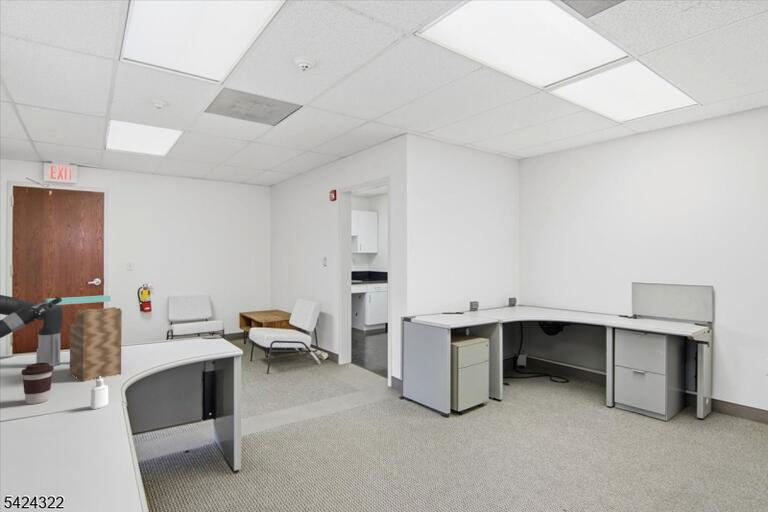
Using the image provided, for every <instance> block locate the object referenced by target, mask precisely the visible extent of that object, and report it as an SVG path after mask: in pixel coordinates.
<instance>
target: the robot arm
mask: <svg viewBox="0 0 768 512" xmlns="http://www.w3.org/2000/svg"><path fill="white" fill-rule="evenodd" d="M53 298H56V299H54V300H52V301H49V302H48V303H45V300H44V301H42V302H40V303H35V302H28V301H26V300H23V299H20V298H17V297H13V296H8V295H4V294H2V295H1V294H0V315H2V316H3V315H4V317H3V318H2V319H0V339H2V338H4V337H5V336H7V335H10V334H11V333H13V332H15V331H18V330H20V329H21V328H25V327H26V326H27V325H30V324H31V323H33V322H35V321H36V320H39V321H43V324H42V327H41V328H39V330H38V348H36V357H35V359H36V363H49V365H50V366H53V367H55V366H54V365H56V366H59V365H60V364H61V330H62V328H63V321H64V320H63V318H64V311H63V308H62V307H61V305H55V304H57V303H59V302H61V301H62V299H61V298H62V297H59V296H54V297H53ZM47 305H49V306H47ZM58 364H59V365H58Z"/></svg>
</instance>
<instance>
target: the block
mask: <svg viewBox="0 0 768 512" xmlns="http://www.w3.org/2000/svg"><path fill="white" fill-rule="evenodd" d="M60 298H61V299H62V301H61V302H59V303H57V304H55V305H58V306H63V305H76V304H77V305H78V304H91V303H92V304H93V303H103V302H105V303H107V302H111V295H109V294H108V295H107V294H105V295H91V296H90V295H88V296H71V297H69V296H68V297H60ZM44 299H45V300H44V301H45V303H48V302H49V301H52V300H54V299H56V298H54V297H53V298H52V297H51V298H44ZM47 306H49V305H47Z"/></svg>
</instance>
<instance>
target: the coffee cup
mask: <svg viewBox="0 0 768 512" xmlns="http://www.w3.org/2000/svg"><path fill="white" fill-rule="evenodd" d="M54 368H55V366H50V365H49V363H30V364H27V365H26V367H25V368H24V369H22V370H21V375H22V376H23V379H22V383H23V394H24V398H25V399H24V400H25V404H27V405H35V404H36V405H37V404H42V403H45V402H47V401H49V400H50V393H51V392H50V391H51V388H52V380H53V379H52V378H53V375H52V373H53V371H54Z"/></svg>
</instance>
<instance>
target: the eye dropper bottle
mask: <svg viewBox="0 0 768 512" xmlns="http://www.w3.org/2000/svg"><path fill="white" fill-rule="evenodd" d="M104 382H105V381H104V378H101V376H99V378H98V379H95V386H94V387H92V388H91V390H90V409H91V410H98V408H100V409H102V407H103V408H105V407H107V406H108V405H109V386H108V385H107V384H105V383H104Z"/></svg>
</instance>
